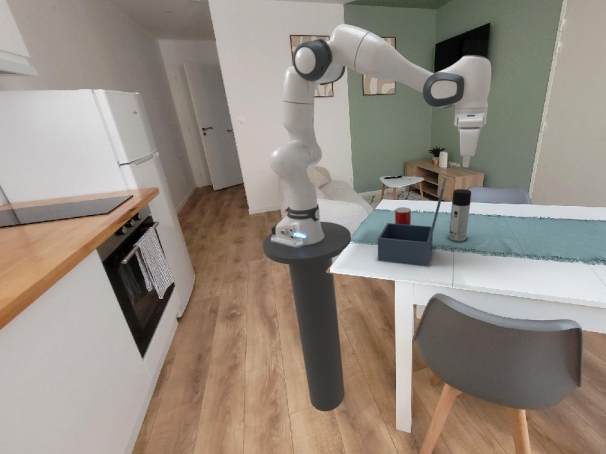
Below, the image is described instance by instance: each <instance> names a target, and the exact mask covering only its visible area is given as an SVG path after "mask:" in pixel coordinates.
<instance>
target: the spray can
mask: <svg viewBox="0 0 606 454" xmlns="http://www.w3.org/2000/svg"><path fill="white" fill-rule="evenodd" d="M471 200H472V191H471V190H470V189H466V188H464V189H463V188H458V189H454V190H453V191H452V201H451V209H450V210H451V211H450V219H449V220H450V221H449V231H448V232H449V233H448V238H449V240H451V241H453V242H457V243H461V242H464V241H466V238H467V233H468V225H469V217H470V208H471Z"/></svg>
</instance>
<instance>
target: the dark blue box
mask: <svg viewBox="0 0 606 454" xmlns="http://www.w3.org/2000/svg"><path fill="white" fill-rule="evenodd" d="M431 228H432V226H431V225H430V226H428V225H417V224H416V225H415V224H411V225H406V224H395V223H392V222H386V224H385V225H384V228H382V230H381V232H380V234H379V236H378V237H377V261H380V262H387V263H397V264H405V265H412V266H413V265H414V266H421V267H429V262H430V259H431V253H432V249H433V236H434V233H433V234H432V238H431V242H428V240H429V236H430V232H431Z"/></svg>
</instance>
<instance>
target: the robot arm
mask: <svg viewBox="0 0 606 454" xmlns="http://www.w3.org/2000/svg"><path fill="white" fill-rule="evenodd" d="M292 64H293V65H291V66H289V67H287V68H286V69H285V71H284V74H283V80H282V86H281V123H282V126H283V128H284V129H285V130H286V131H287V133H288V136H289V143H286V144H282V145H280V146H279V147H277V148H275V149H274V150H272V151H271V153H270V155H269V165H270V168H271V170H272V171H273V172H274V174H276V175H277V176H279V177H280V179H281V180H282V182H283V184H284V186H285V189H286V193H287V199H288V205H289V206H288V207H286V208H285V209H284V214H286V213H287V214H286V216H285V217H284V218H282V219H281V220H280V221H279V222H278V223H275V224H274V225H273V226H272V227H271V228H270V230H271V233H272V234H274V235H273V236H272V237H271V241H272V242H276V243H280V244H284V245H288V246H292V247H296V248H298V247H302V246H304V245H310V244H314V243H317V242H319V241H321V240H322V239H324V237H325V235H324V233H323V230H322V227H321V223H320V222H321V219H320V207H319V203H318V196H317V189H316V185H315V184H314V183H313V182H312V181H311V180H310V178H309V175H308V170H310V169H313V168H315V167H316V166H317V165H318V164H319V163H320V161H321V160H322V157H323V151H322V148H321V147H320V145H319V144H318V142H317V138H316V133H315V93H316V88H317V87H318V86H319V85H320V86H325V85H329V84H330V85H331V84H334V83H336V82H338V81H340V80H341V78H343V76H344V75H345V72H346V68H349V69H350V70H353V71H355V72H357V73H358V74H360V75H363V76H366V77H369V78H374V79H378V80H385V81H393V82H397V83H401V84H403V85H405V86H407V87H410V88H411V89H413V90H416V91H418V92H419V93H422V96H423V100H424V101H425V103H427V105H428V106H429V107H432V108H435V109H449V108H451V107H453V106H454V118H453V119H454V120H453V126H454V127H457V132H458V133H459V152H460V156H461V157H462V167H463V168H469V167H470V161H471V157H474V156H475V154H476V150H477V146H478V142H479V138H480V133H481V131H482V129H481V128H483V127H484V126H486V125H487V117H488V110H489V108H488V107H489V104H488V98H489V94H490V91H491V85H492V83H491V82H492V64H491V61H490V59H488V58H487V57H485V56H482V55H476V54H467V55H463V56H462V57H461V58H460V59H459V60H457V61H456V62H455V63H453V64H452V65H450V66H448V67H446V68H444V69H442V70H439V71H436V72H432V71H429V70H427V69H425V68H423V67H421V66H419V65H417V64H416V63H415V64H414V63H413V62H412V61H409V60H408V59H407V58H405V57H404V56H403V55H402V54H401V53H400V52H399V51H398V50H397V49H396V48H394V46H393V45H391V44H390V43H389V42H388V41H386V40H385V39H383V38H382V37H381V36H379V35H377V34H375V33H374V32H372V31H369V30H366V29H365V28H362V27H358V26H356V25H351V24H347V23H341V24H339V25H337V26H336V27H335V28H334V29H333V30H332V33H331V34H330V38H329V40H327V41H326V40H325V39H323V38H318V39H313V40H308V41H304V42H301V43H299V44H298V45H297V46H296V47H295V49H294V51H293V54H292Z"/></svg>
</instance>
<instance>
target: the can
mask: <svg viewBox="0 0 606 454" xmlns="http://www.w3.org/2000/svg"><path fill="white" fill-rule="evenodd" d="M411 219H412V210H411V208H409V207H405V206H404V207H403V206H401V207H397V208H395V210H394V224H406V225H412V220H411Z"/></svg>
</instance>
